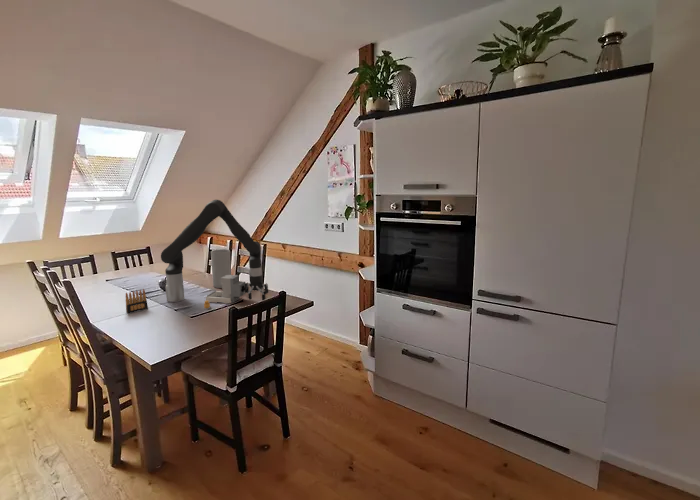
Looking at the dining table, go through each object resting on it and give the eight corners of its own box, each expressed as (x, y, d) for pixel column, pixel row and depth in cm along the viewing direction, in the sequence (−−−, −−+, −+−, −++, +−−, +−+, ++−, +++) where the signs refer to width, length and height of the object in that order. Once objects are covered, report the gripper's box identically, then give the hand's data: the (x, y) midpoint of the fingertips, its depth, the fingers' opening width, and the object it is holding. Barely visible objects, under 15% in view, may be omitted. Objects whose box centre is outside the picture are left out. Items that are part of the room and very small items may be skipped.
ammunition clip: (127, 313, 200) (125, 293, 197) (126, 312, 201) (123, 292, 199) (148, 308, 208) (146, 288, 205) (146, 308, 209) (144, 288, 207)
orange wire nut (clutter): (203, 308, 209) (202, 301, 208) (206, 306, 212) (205, 300, 211) (208, 308, 209) (207, 302, 208) (211, 306, 212) (210, 300, 211)
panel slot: (206, 301, 220) (205, 295, 219) (216, 295, 232) (215, 290, 231) (230, 303, 217) (230, 297, 217) (239, 297, 229) (239, 291, 228)
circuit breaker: (243, 302, 218) (242, 279, 215) (221, 301, 221) (220, 277, 218) (248, 298, 226) (247, 276, 223) (228, 297, 228) (226, 274, 225)
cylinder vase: (228, 288, 247) (226, 253, 242) (210, 288, 247) (207, 252, 242) (234, 283, 259) (232, 249, 254) (217, 283, 259) (214, 249, 254)
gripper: (241, 275, 215) (243, 301, 218) (264, 276, 213) (265, 302, 216) (247, 272, 222) (248, 297, 226) (269, 273, 220) (270, 298, 223)
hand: (257, 299), depth 221 cm, fingers open, 8 cm apart
